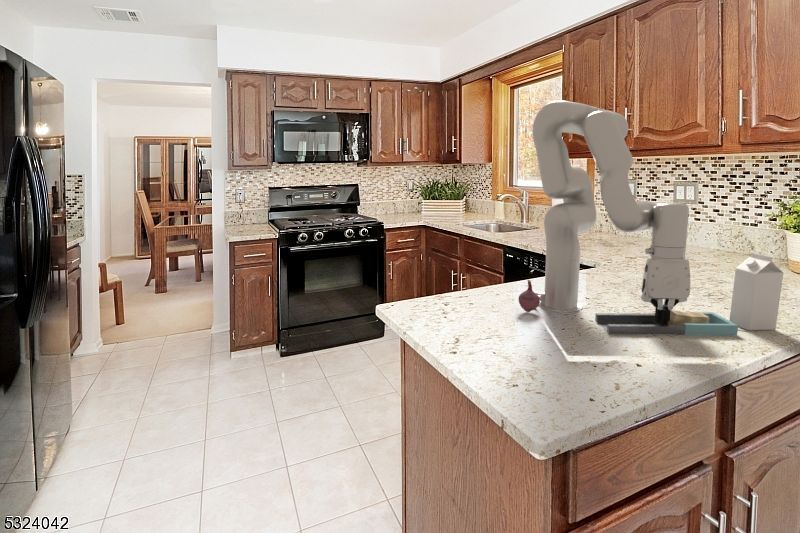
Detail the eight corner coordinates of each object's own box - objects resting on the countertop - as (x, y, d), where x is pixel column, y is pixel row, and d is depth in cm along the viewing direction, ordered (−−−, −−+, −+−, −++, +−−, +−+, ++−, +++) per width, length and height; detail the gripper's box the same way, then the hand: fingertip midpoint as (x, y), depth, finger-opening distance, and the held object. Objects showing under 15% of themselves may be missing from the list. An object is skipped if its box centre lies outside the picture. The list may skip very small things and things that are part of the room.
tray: (684, 338, 117) (686, 324, 117) (664, 324, 128) (665, 312, 127) (736, 339, 116) (738, 325, 116) (711, 325, 127) (713, 312, 126)
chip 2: (690, 331, 120) (692, 316, 120) (682, 326, 124) (685, 311, 124) (707, 332, 120) (709, 317, 119) (698, 327, 124) (701, 312, 123)
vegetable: (537, 310, 144) (538, 277, 142) (541, 316, 138) (542, 282, 136) (516, 309, 144) (517, 277, 142) (519, 315, 138) (520, 282, 136)
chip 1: (672, 329, 121) (676, 314, 120) (665, 324, 125) (669, 309, 124) (688, 331, 120) (692, 316, 120) (681, 326, 124) (685, 312, 123)
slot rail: (608, 337, 119) (609, 326, 118) (594, 323, 130) (595, 313, 129) (684, 338, 117) (685, 326, 117) (664, 324, 128) (665, 313, 128)
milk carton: (754, 321, 129) (763, 252, 125) (775, 330, 122) (786, 257, 118) (728, 322, 129) (737, 253, 125) (748, 331, 122) (758, 257, 118)
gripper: (642, 255, 116) (637, 328, 120) (707, 255, 115) (700, 328, 118) (630, 250, 123) (626, 319, 127) (691, 250, 122) (685, 319, 125)
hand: (661, 323), depth 122 cm, fingers closed
